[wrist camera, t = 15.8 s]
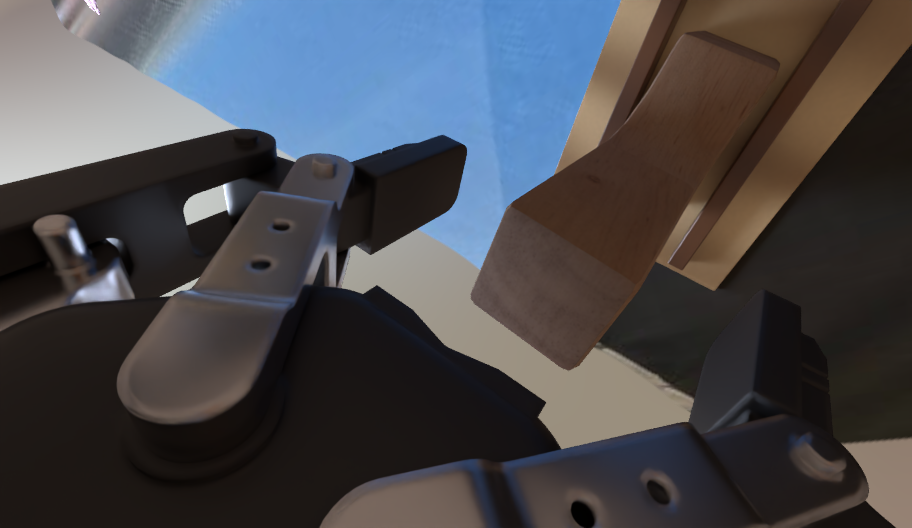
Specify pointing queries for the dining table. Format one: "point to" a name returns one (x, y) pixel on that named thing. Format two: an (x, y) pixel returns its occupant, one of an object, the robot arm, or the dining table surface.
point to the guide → (770, 122)
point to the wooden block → (618, 202)
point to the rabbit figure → (92, 5)
